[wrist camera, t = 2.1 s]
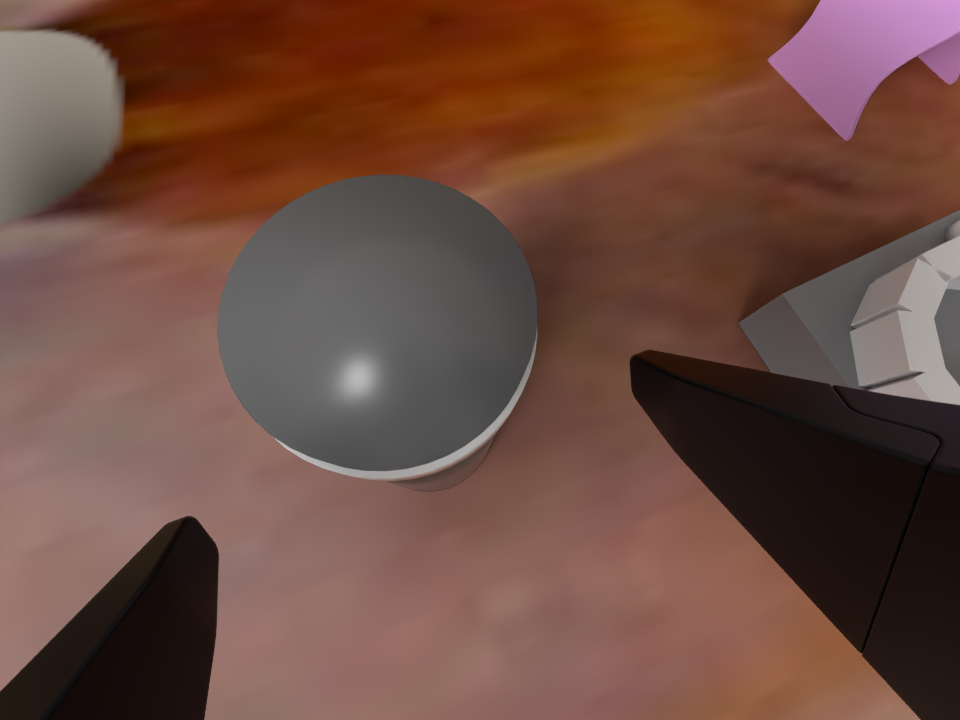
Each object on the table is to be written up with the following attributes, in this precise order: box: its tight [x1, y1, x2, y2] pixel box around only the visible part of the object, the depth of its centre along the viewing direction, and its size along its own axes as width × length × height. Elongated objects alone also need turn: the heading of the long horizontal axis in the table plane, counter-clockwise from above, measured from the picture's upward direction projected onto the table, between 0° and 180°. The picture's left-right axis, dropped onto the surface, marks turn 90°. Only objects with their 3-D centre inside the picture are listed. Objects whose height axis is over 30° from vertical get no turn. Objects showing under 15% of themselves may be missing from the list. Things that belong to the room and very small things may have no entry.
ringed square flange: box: [738, 210, 960, 405], centre depth 18 cm, size 11×10×5 cm
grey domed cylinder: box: [218, 175, 538, 492], centre depth 13 cm, size 5×5×12 cm
